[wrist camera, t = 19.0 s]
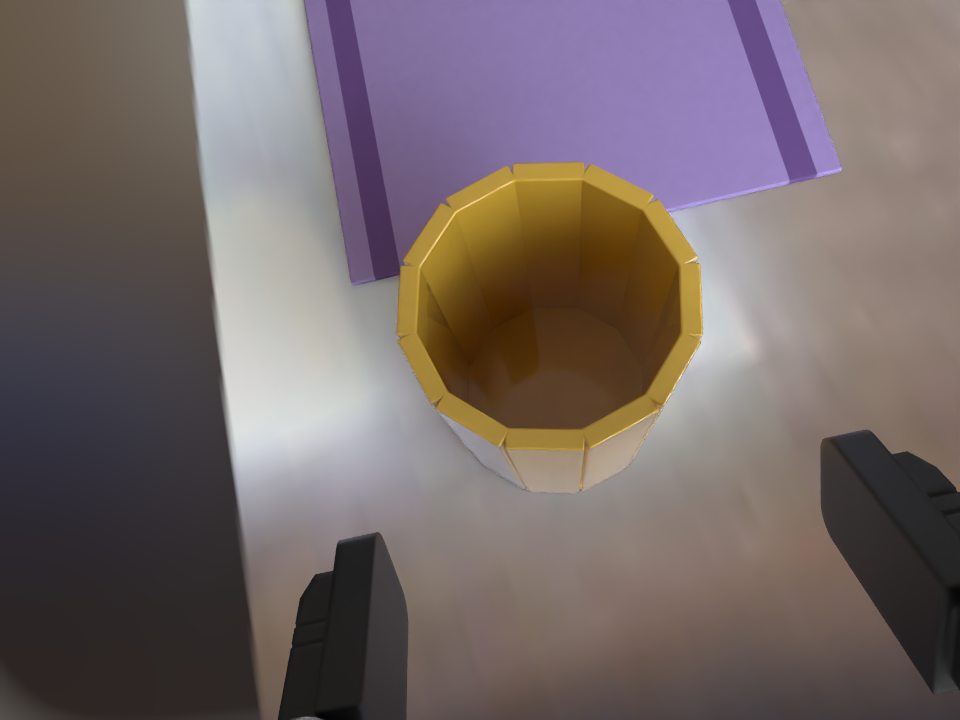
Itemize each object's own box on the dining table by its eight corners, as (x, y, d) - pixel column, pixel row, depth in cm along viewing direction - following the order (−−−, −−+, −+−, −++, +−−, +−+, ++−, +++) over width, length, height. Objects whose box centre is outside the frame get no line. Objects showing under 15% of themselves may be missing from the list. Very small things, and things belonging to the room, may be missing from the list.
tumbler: (521, 268, 27) (497, 115, 18) (690, 360, 26) (757, 244, 16) (421, 427, 26) (340, 351, 17) (590, 531, 25) (603, 511, 15)
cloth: (737, -106, 30) (739, -113, 30) (839, 172, 27) (842, 168, 26) (306, 4, 31) (303, -2, 30) (353, 285, 27) (351, 282, 27)
